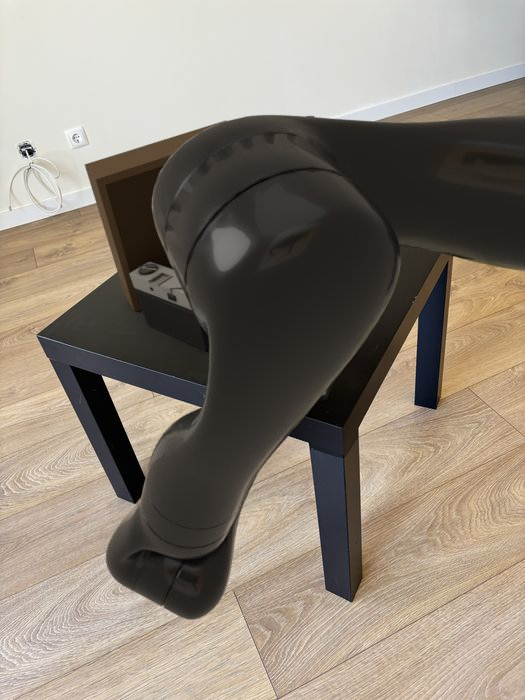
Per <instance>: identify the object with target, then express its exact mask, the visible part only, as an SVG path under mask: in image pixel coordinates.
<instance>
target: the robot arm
mask: <svg viewBox="0 0 525 700" xmlns="http://www.w3.org/2000/svg"><path fill="white" fill-rule="evenodd" d="M306 116H307V115H305V116H304V115H303V116H302V115H291V114H290V115H289V114H288V115H287V114H257V115H255V114H254V115H247V116H243V117H237V118H234V119H228V120H226V121H225V120H223V121H224V122H222V121H221V122H222V123H219V122H218V123H219V124H217V125H215V126H212V127H210V128H208V129H205V130H203V131H202V132H200V133H199V134H197V135H196V136H194V137H192V138H191V139H189V140H188V141H186V142H185V143H184V144H183V145H182V146H181V147H180V148H179V149H178V150H177V151H176V152H175V153H174V154H173V155H172V156H171V157H170V158H169V159H168V161H167V162H166V164H165V165H164V167H163V168H162V170H161V171H160V173H159V176H158V178H157V181H156V184H155V186H154V190H153V196H152V214H153V218H154V223H155V227H156V230H157V233H158V236H159V238H160V241H161V243H162V245H163V248H164V250H165V252H166V255H167V257H168V260H169V262H170V264H171V266H172V268H173V270H174V272H175V274H176V276H177V278H178V280H179V282H180V285H181V287H182V289H183V291H184V293H185V295H186V297H187V299H188V301H189V304H190V307H191V309H192V311H193V313H194V315H195V317H196V319H197V321H198V323H199V324H200V326H201V327H202V328H203V329H204V330H205V332H206V333H207V335H208V341H209V352H208V370H207V379H206V380H207V381H206V390H205V397H204V401H203V404H202V407H199V408H197V409H195V410H193V411H190V412H188V413H187V414H184V415H182V416H181V417H179V418H178V419H177V420H175V421H174V422H173V423H171V424H170V425H169V426H168V427H167V429H166V430H165V431H164V432H163V433H162V434H161V436H160V437H159V439H158V441H157V442H156V444H155V447H154V449H153V451H152V454H151V457H150V459H149V463H148V466H147V469H146V475H145V479H144V483H143V486H142V491H141V492H142V493H141V497H140V499H139V501H138V503H137V504H135V506H134V507H132V509H131V510H130V511H129V512H128V513H127V514H126V515H125V516H124V518H122V520H121V521H120V522H119V523H118V525H117V526H116V528H115V529H114V531H113V533H112V535H111V537H110V539H109V541H108V543H107V547H106V551H105V564H106V567H107V570H108V572H109V574H110V576H111V577H112V578H113V579H114V580H115V581H116V582H117V583H118V584H119V585H121V586H123V587H125V588H126V589H128V590H130V591H132V592H134V593H136V594H137V595H139V596H141V597H142V598H145V599H147V600H149V601H150V602H152V603H154V604H155V605H158V606H160V607H162V608H163V609H165V610H166V611H168V612H169V613H172V614H174V615H176V616H177V617H179V618H182V619H185V620H189V621H193V620H199V619H201V618H203V617H205V616H206V615H208V614H209V613H210V612H212V611H213V610H214V609H215V608H216V607H217V606H218V605H219V603H220V602H221V600H222V598H223V596H224V595H225V592H226V590H227V587H228V584H229V580H230V577H231V576H230V575H231V570H232V566H233V559H234V550H235V542H236V536H237V531H238V525H239V521H240V519H241V518H240V517H241V513H242V510H243V507H244V505H245V502H246V500H247V497H248V495H249V493H250V490H251V488H252V487H253V484H254V483H255V480H256V478H257V477H258V475H259V473H260V472H261V470H262V468H263V467H264V466H265V464H266V463H267V462H268V461H269V459H270V458H271V457H272V456H273V455H274V454H275V452H276V451H277V450H278V449H279V447H280V446H281V445H282V444H283V443H284V442H285V441H286V440H287V438H289V436H290V435H291V434H292V432H294V430H295V429H296V428H297V427H298V426H299V424H300V423H301V422H302V421H303V420H304V418H305V417H306V416H307V415H308V413H309V412H310V411H311V410H312V408H314V406H315V405H316V403H317V402H318V401H319V402H324V401H326V400H327V399H328V397H329V395H330V393H331V391H332V389H333V387H334V385H335V384H336V382H337V380H338V379H339V378H338V377H339V376H340V374H341V373H342V371H343V370H344V369H345V368H346V366H347V365H348V364H349V363H350V361H351V360H352V359H353V358H354V356H355V355H356V354H357V352H358V351H359V350H360V348H361V347H362V346H363V345H364V343H365V342H366V340H367V339H368V337H369V336H370V335H371V333H372V331H373V330H374V329H375V327H376V326H377V324H378V322H379V321H380V319H381V317H382V316H383V314H384V312H385V311H386V309H387V307H388V305H389V303H390V301H391V299H392V297H393V294H394V292H395V290H396V289H395V288H396V286H397V283H398V280H399V277H400V272H401V266H402V255H401V247H409V248H414V249H420V250H425V251H429V252H434V253H439V254H442V255H446V256H450V257H454V258H458V259H461V260H466V261H469V262H474V263H478V264H482V265H486V266H491V267H494V268H495V267H496V268H502V269H506V270H513V271H520V272H525V114H519V115H500V116H485V117H472V118H471V117H469V118H460V119H459V118H458V119H450V120H449V119H448V120H438V121H437V120H435V121H416V122H415V121H409V122H407V121H405V122H402V121H380V120H379V121H378V120H360V119H344V118H330V117H328V118H327V117H317V116H314V117H306Z"/></svg>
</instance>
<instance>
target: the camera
mask: <svg viewBox="0 0 525 700" xmlns="http://www.w3.org/2000/svg"><path fill="white" fill-rule="evenodd" d="M130 277H131V280H132V283H133V286H134V289H136V290H135V291H136V294H137V297H138V300H139V303H140V305H141V308H142V310H141V311H142V314H143V317H144V320H145V322H146V325H147V326H149V327H151V328H153V329H155V330H157V331H159V332H162V333H164V334H166V335H169V336H171V337H173V338H176V339H177V340H180V341H182V342H185V343H187V344H189V345H191V346H193V347H195V348H198V349H200V350H202V351H205V352H208V353H209V341H208V335H207V333H206V332H205V330H204V329H203V328H202V327H201V326H200V324H199V323H198V321H197V319H196V317H195V315H194V313H193V311H192V309H191V307H190V304H189V301H188V299H187V297H186V295H185V293H184V291H183V289H182V287H181V285H180V282H179V280H178V278H177V276H176V274H175V272H174V270H173V269H170V268H167V267H164V266H161V265H158V264H155V263H152V262H148V263H146V264H144V265H143V266H141V267H139V268H138V269H136V270H134V271H133V272H131V273H130Z"/></svg>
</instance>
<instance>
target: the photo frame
mask: <svg viewBox="0 0 525 700" xmlns="http://www.w3.org/2000/svg"><path fill="white" fill-rule="evenodd" d="M224 121H227V120H222V121H219V122H215V123H213V124H210V125H206V126H203V127H199V128H196V129H194V130H190V131H187V132H184V133H180V134H177V135H174V136H171V137H168V138H164V139H161V140H159V141H155V142H152V143H149V144H145V145H143V146H140V147H139V146H138V147H136V148H133V149H129V150H126V151H123V152H119V153H117V154H113V155H111V156H107V157H104V158H100V159H98V160H94V161H90V162H88V163H84V168H85V170H86V171H85V172H86V174H87V177H88V180H89V184H90V187H91V191H92V194H93V197H94V201H95V203H96V206H97V209H98V213H99V217H100V219H101V223H102V226H103V230H104V233H105V237H106V239H107V243H108V246H109V249H110V252H111V255H112V258H113V259H112V260H113V262H114V265H115V268H116V269H115V270H116V272H117V275H118V278H119V281H120V285H121V289H122V291H123V294H124V297H125V299H126V300H127V302H128V304H129V305H130V307H131V308H132V310H133V311H134V313H136V312H140V311H142V308H141V305H140V303H139V300H138V297H137V294H136V291H135V290H136V289H134V286H133V283H132V280H131V277H130V273H131V272H133V271H134V270H136V269H138V268H139V267H141V266H143V265H144V264H146V263H148V262H152V263H155V264H158V265H161V266H164V267H167V268H170V269H173V268H172V266H171V264H170V262H169V260H168V257H167V255H166V252H165V250H164V248H163V245H162V243H161V241H160V238H159V236H158V233H157V230H156V227H155V223H154V218H153V214H152V196H153V190H154V186H155V184H156V181H157V178H158V176H159V173H160V171H161V170H162V168H163V167H164V165H165V164H166V162H167V161H168V159H169V158H170V157H171V156H172V155H173V154H174V153H175V152H176V151H177V150H178V149H179V148H180V147H181V146H182V145H183V144H184V143H185V142H186V141H188V140H189V139H191V138H192V137H194V136H196V135H197V134H199V133H200V132H202V131H203V130H205V129H208V128H210V127H212V126H215V125H217V124H219V123H222V122H224Z"/></svg>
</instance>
